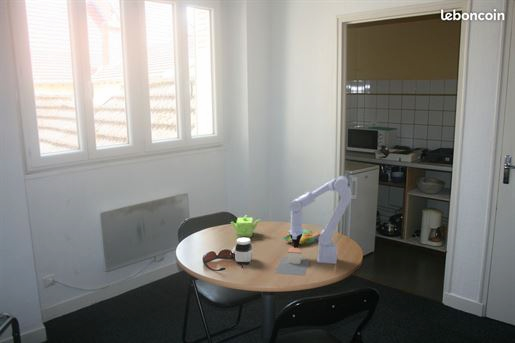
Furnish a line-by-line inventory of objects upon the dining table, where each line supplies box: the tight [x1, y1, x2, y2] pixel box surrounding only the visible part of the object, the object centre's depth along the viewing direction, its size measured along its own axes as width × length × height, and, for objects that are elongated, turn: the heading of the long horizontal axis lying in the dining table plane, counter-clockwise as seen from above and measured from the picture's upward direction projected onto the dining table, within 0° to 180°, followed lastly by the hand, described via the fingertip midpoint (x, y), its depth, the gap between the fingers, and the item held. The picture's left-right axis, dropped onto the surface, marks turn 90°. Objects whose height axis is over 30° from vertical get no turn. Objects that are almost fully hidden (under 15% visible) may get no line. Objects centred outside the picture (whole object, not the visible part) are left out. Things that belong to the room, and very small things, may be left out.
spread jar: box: [230, 237, 253, 265], centre depth 223 cm, size 12×11×12 cm
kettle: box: [230, 214, 261, 239], centre depth 261 cm, size 15×14×11 cm
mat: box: [274, 256, 310, 276], centre depth 216 cm, size 14×20×1 cm
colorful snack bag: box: [281, 228, 321, 247], centre depth 251 cm, size 12×5×20 cm
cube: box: [287, 247, 302, 264], centre depth 221 cm, size 6×6×6 cm
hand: (296, 248), depth 226 cm, fingers closed
